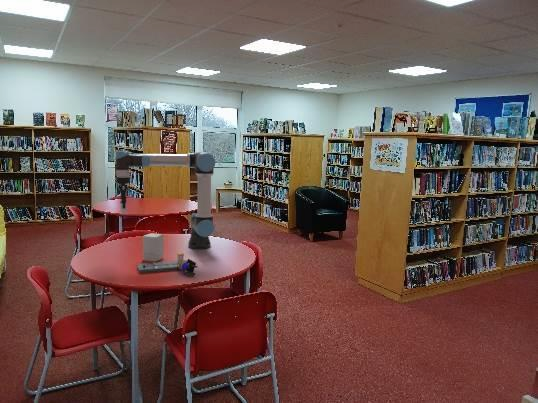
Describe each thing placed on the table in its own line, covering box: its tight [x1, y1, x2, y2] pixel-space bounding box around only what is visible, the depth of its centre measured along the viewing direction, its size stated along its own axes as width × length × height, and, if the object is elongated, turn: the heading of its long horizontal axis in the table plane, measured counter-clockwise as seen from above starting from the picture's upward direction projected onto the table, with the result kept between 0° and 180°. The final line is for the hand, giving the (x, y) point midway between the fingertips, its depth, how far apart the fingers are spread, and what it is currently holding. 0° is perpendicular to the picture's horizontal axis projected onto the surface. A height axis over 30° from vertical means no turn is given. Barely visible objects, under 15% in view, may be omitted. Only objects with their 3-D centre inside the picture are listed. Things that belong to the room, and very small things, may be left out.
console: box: [137, 259, 188, 275], centre depth 232 cm, size 28×12×3 cm, turn 111°
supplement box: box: [142, 232, 164, 263], centre depth 248 cm, size 9×9×15 cm
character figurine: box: [177, 258, 198, 276], centre depth 224 cm, size 8×7×15 cm
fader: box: [176, 252, 185, 263], centre depth 235 cm, size 3×3×6 cm
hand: (123, 211), depth 248 cm, fingers open, 13 cm apart
